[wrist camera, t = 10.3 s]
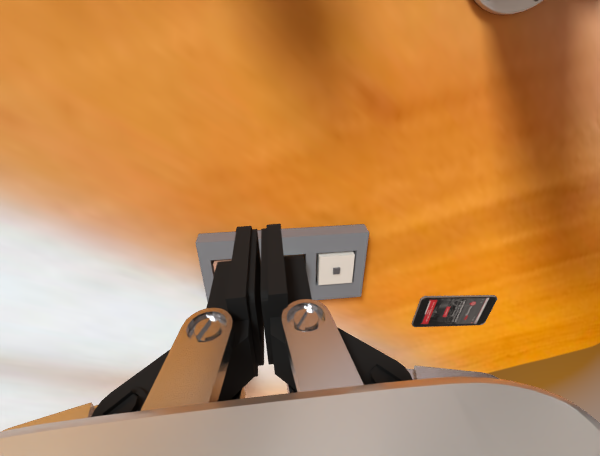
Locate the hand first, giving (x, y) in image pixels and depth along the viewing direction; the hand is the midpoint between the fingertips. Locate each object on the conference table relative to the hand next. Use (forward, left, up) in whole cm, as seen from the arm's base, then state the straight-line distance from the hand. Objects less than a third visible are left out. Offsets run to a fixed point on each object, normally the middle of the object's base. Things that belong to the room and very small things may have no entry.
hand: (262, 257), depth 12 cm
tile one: (-10, +21, -28) cm, 36 cm away
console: (-2, +21, -28) cm, 35 cm away
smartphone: (-33, +35, -29) cm, 56 cm away
